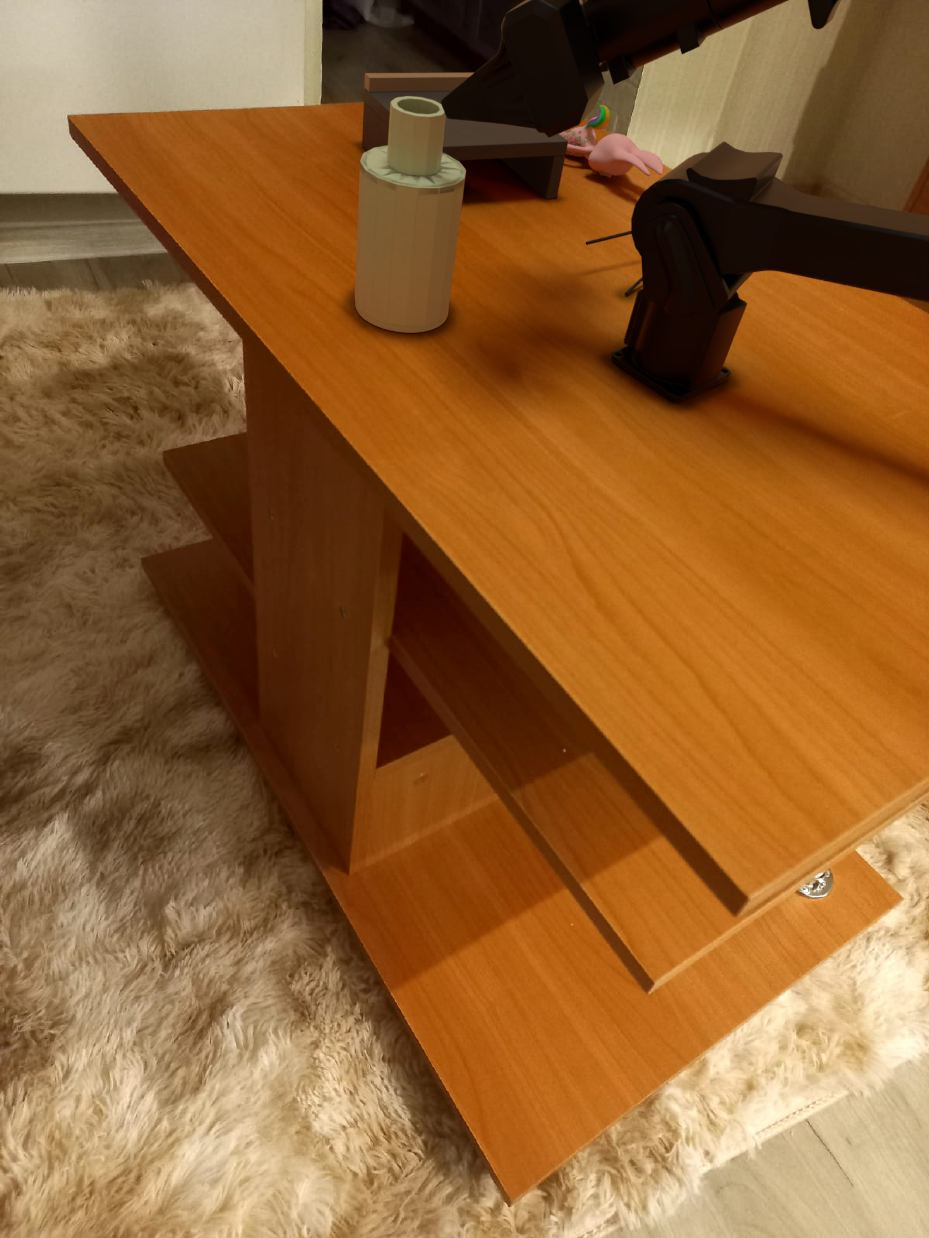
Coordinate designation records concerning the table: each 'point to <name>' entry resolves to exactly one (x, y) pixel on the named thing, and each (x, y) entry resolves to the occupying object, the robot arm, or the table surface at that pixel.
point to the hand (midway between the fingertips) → (471, 88)
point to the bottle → (408, 221)
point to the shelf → (465, 129)
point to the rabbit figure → (609, 149)
